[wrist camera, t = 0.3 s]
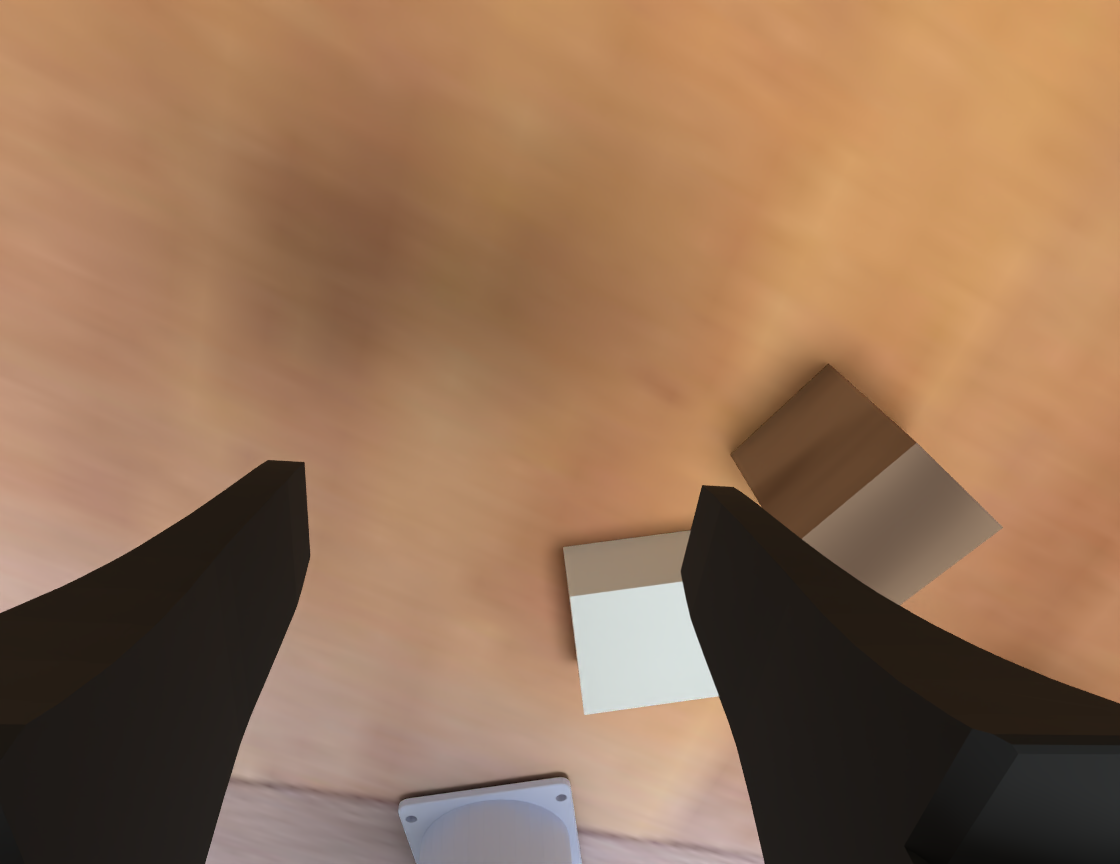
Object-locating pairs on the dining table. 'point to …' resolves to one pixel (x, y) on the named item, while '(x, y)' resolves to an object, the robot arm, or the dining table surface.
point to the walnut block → (861, 489)
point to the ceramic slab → (634, 624)
